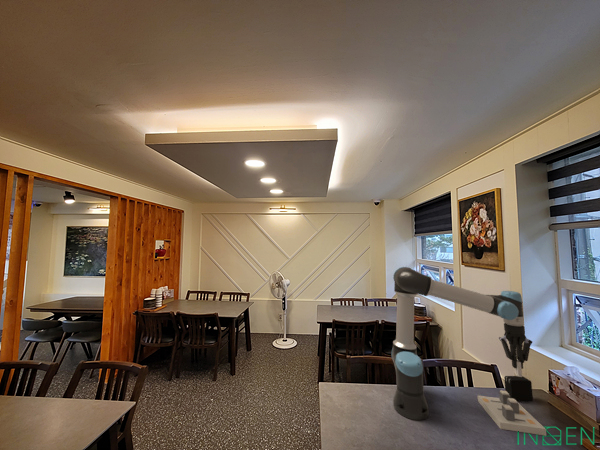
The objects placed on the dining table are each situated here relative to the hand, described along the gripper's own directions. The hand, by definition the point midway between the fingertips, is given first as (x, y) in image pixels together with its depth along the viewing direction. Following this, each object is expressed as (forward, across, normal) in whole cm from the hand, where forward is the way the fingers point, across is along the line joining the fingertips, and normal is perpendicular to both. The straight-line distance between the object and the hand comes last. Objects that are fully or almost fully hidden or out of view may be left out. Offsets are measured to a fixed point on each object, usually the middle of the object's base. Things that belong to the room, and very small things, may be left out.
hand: (518, 375), depth 114 cm
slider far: (+12, -7, -1) cm, 14 cm away
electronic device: (+16, +4, +9) cm, 18 cm away
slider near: (+12, -12, -13) cm, 22 cm away
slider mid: (+12, -7, -7) cm, 16 cm away
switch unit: (+15, -9, -7) cm, 19 cm away
